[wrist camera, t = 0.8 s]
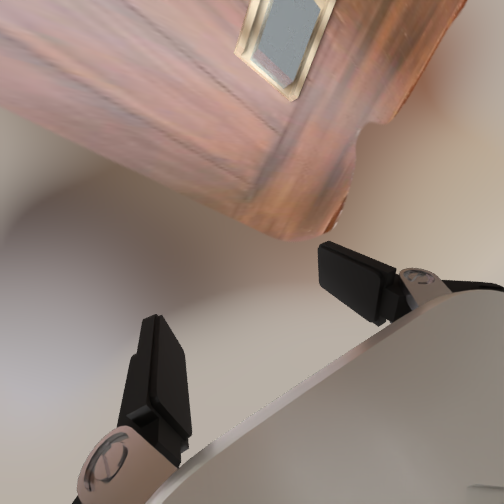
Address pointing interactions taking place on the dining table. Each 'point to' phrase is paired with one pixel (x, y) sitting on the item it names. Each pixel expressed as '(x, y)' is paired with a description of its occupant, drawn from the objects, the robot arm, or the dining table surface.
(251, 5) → the tray
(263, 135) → the dining table surface
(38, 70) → the dining table surface
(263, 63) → the cover plate
